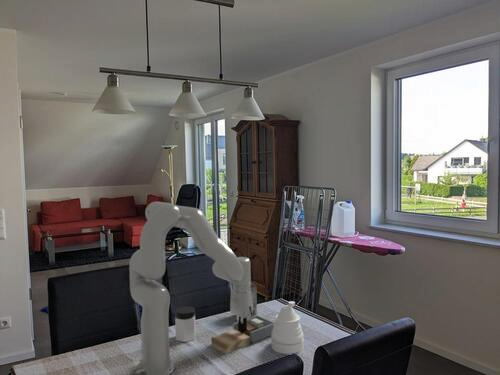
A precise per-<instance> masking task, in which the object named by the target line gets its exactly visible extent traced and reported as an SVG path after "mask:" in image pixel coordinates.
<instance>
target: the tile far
mask: <svg viewBox="0 0 500 375" xmlns="http://www.w3.org/2000/svg"><path fill="white" fill-rule="evenodd" d="M250 321H251V324H253V325H255V326H258V329H259V328H262V327H264V321H261V320H259V319H257V318H255V319H252V320H250Z"/></svg>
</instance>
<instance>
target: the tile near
mask: <svg viewBox="0 0 500 375" xmlns="http://www.w3.org/2000/svg"><path fill="white" fill-rule="evenodd" d="M257 329H258V326H255V325H253V324H251V323H250V324H247V330H246V331H245V332H242V333H243V334H246V335H248V336H250V332H252V331H254V330H257Z"/></svg>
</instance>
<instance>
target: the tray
mask: <svg viewBox="0 0 500 375" xmlns="http://www.w3.org/2000/svg"><path fill="white" fill-rule="evenodd" d="M255 318H257V319H259V320H261V321H264V327H262V328H259V329H257V330H254V331H252V332H250V344H249V345H255V344H257V343H259V342H261V341H265V340H267V339H269V338H271V333H272V330H273V327H274V324H275V321H273V320H270V319H268V318H266V317H263V316H261V315H259V314H257V315H256V316H254V317H252V319H255ZM250 323H251V321H247V324H250ZM234 329H235V330H237V331H238V321H237V322H235V323H232V330H234Z"/></svg>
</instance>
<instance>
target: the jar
mask: <svg viewBox="0 0 500 375" xmlns="http://www.w3.org/2000/svg"><path fill="white" fill-rule="evenodd" d="M174 312H175V313H174V314H175V319H174V322H175V341H176V342H177V341H178V342H183V343H186V342H191V341H194V340H195V339H196V334H197V332H196V330H197V329H196V309H195V307H192V306H181V307H178V308H176V309H175V311H174Z"/></svg>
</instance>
